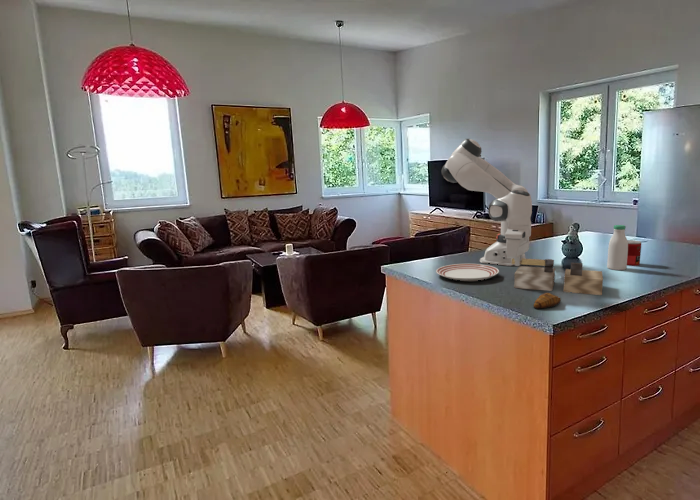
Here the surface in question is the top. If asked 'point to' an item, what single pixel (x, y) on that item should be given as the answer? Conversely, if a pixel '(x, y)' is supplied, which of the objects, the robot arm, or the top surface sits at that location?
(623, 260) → the milk bottle
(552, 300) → the croissant
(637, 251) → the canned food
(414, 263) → the top surface
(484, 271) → the dinner plate
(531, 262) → the latch bar
